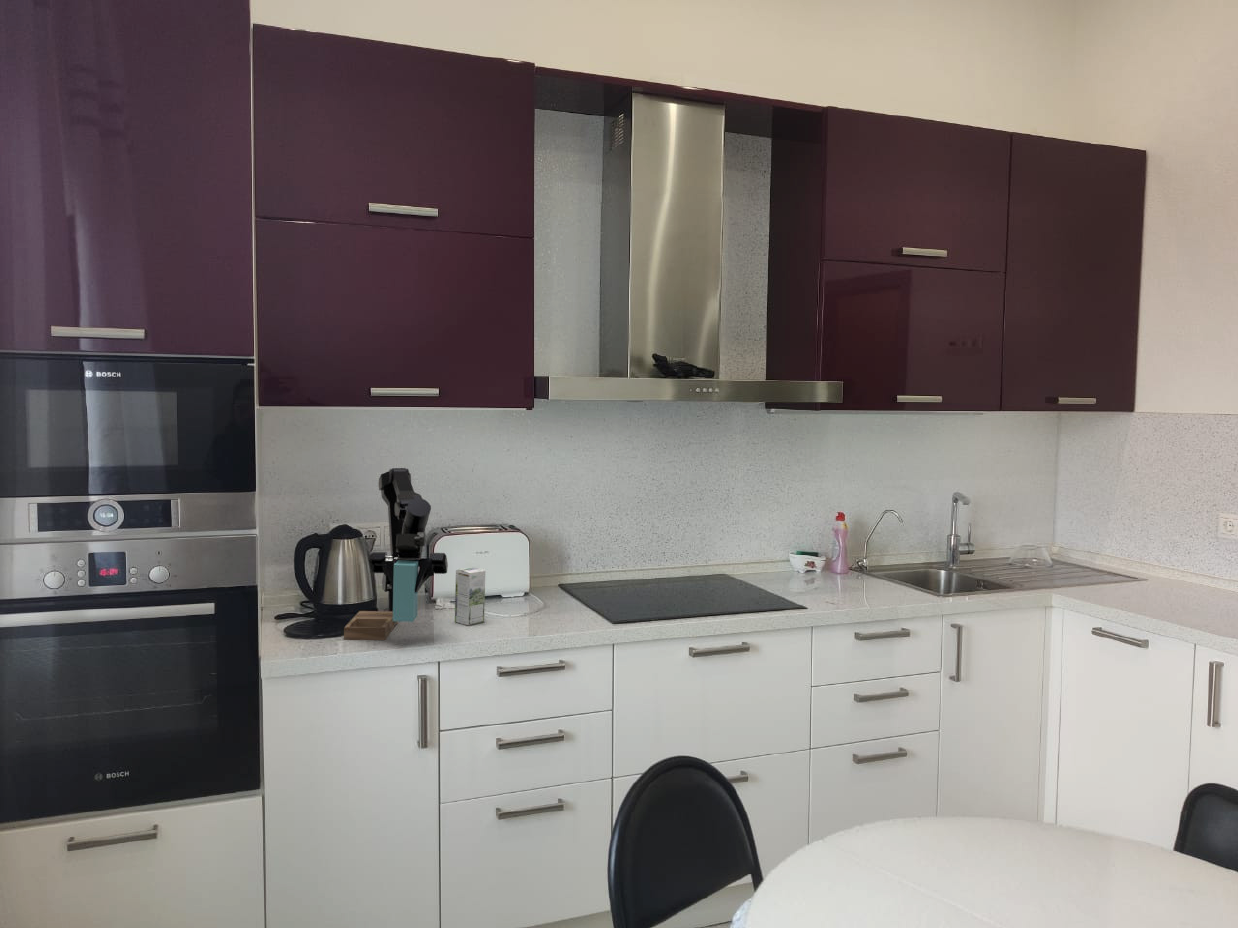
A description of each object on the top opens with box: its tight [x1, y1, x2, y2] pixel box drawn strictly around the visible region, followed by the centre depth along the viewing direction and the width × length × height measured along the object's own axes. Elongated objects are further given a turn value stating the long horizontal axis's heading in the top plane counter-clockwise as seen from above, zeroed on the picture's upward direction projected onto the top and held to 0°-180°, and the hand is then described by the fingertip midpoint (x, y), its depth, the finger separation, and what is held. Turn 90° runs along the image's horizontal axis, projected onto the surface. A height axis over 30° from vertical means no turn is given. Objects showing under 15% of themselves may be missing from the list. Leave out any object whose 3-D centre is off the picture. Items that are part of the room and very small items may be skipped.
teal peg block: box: [393, 560, 419, 623], centre depth 227 cm, size 5×5×14 cm
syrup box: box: [454, 566, 486, 626], centre depth 249 cm, size 6×6×14 cm
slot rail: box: [343, 610, 398, 641], centre depth 239 cm, size 17×10×3 cm, turn 3°
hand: (404, 591), depth 226 cm, fingers closed on teal peg block, 5 cm apart
